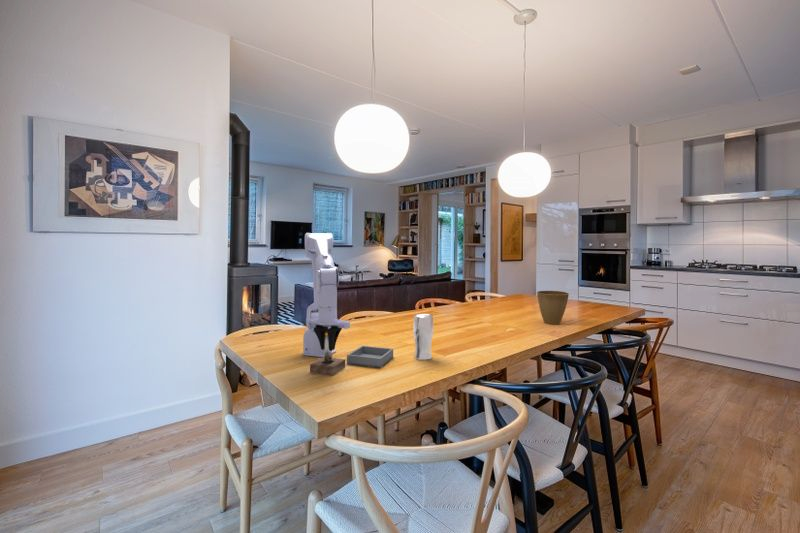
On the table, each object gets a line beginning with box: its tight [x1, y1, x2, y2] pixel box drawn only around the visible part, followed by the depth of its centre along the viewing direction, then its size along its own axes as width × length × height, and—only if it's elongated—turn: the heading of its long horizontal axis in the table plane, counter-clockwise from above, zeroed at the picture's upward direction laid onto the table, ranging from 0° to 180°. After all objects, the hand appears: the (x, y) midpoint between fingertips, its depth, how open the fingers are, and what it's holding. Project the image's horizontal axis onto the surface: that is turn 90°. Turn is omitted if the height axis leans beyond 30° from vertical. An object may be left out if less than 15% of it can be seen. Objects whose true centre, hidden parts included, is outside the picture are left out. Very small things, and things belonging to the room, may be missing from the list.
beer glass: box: [412, 313, 434, 361], centre depth 126 cm, size 7×7×15 cm
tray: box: [346, 345, 394, 369], centre depth 123 cm, size 12×12×3 cm
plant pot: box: [536, 290, 570, 326], centre depth 184 cm, size 15×15×16 cm
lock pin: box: [324, 331, 333, 361], centre depth 113 cm, size 2×2×9 cm
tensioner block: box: [309, 357, 346, 376], centre depth 114 cm, size 8×8×2 cm
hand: (327, 349), depth 113 cm, fingers closed on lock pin, 2 cm apart
